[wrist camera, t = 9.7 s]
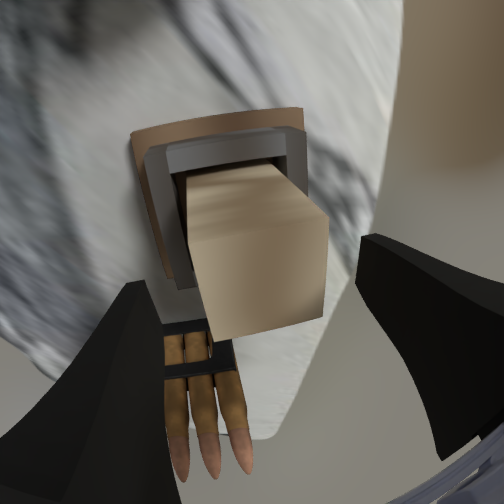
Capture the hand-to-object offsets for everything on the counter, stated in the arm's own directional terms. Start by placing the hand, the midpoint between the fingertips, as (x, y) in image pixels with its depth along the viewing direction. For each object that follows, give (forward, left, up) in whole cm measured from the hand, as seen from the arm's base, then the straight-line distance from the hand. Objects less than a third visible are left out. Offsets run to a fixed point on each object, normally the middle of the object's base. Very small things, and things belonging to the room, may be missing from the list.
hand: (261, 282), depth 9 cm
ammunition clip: (-7, -10, -9) cm, 15 cm away
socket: (0, 0, -9) cm, 9 cm away
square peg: (0, 0, -8) cm, 8 cm away
